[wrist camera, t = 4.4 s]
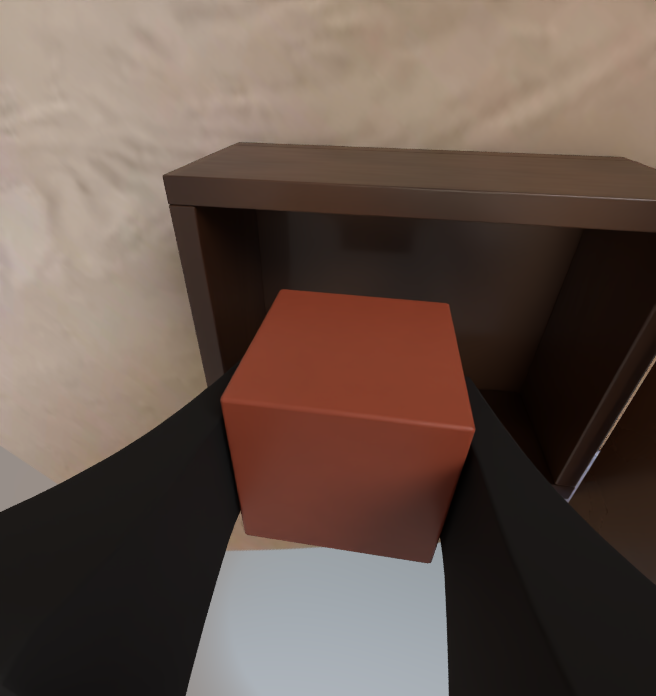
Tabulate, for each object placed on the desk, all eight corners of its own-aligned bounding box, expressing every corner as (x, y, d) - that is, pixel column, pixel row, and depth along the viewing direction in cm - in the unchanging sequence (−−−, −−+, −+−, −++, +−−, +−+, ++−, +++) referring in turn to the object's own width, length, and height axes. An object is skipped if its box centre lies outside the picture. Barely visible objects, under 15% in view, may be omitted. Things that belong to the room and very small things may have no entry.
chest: (261, 368, 23) (221, 454, 17) (237, 141, 16) (161, 174, 11) (527, 395, 21) (568, 499, 16) (625, 156, 14) (750, 203, 9)
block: (422, 425, 12) (431, 565, 9) (287, 408, 13) (243, 535, 9) (449, 302, 10) (477, 430, 6) (279, 287, 10) (217, 398, 7)
